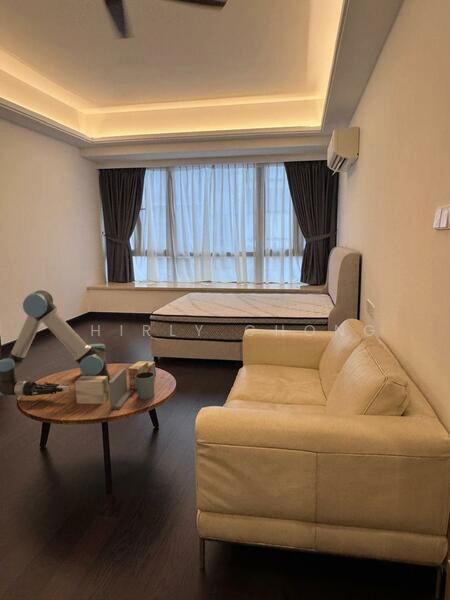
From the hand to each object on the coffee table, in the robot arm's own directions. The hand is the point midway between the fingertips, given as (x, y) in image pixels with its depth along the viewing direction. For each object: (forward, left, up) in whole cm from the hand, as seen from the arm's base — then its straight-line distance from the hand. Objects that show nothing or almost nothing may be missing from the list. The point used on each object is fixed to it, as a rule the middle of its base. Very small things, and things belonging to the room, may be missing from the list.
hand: (69, 389), depth 203 cm
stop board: (0, +28, -6) cm, 29 cm away
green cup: (-6, +39, -6) cm, 40 cm away
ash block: (0, +12, -6) cm, 14 cm away
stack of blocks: (-26, +32, -6) cm, 42 cm away
